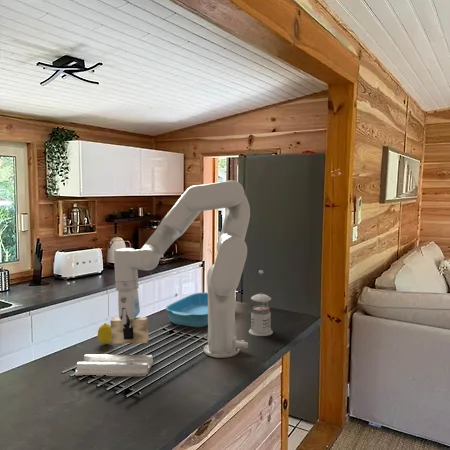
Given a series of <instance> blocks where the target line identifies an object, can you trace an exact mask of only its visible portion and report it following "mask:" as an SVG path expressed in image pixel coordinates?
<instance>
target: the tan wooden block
mask: <svg viewBox="0 0 450 450" xmlns="http://www.w3.org/2000/svg"><path fill="white" fill-rule="evenodd" d="M127 319H129V318H127ZM109 322H110V326H111V338H112V340H111V344H112V345H113V344H147V343H148V342H149V321H148V317H146V316H145V317H144V316H143V317H142V316H141V317H137V316H136V318H135V319H134V320H132V327H133V337H134V338H133V339H126V340H125V339H124V333H123V325H122V320H120V319H119V317H112V319H111V320H110V321H109ZM127 322H129V321H127Z"/></svg>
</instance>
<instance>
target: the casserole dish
mask: <svg viewBox="0 0 450 450" xmlns="http://www.w3.org/2000/svg"><path fill="white" fill-rule="evenodd" d="M165 311H166V314H167V316H168V319H169V321H170V322H171V323H173V324H175V325H178V326H183V327H184V326H187V327H191V328H202V327H204V328H205V327H206V326H207V327H208V292H196V293H192V294H189V295H188V296H185V297H182V298H181V299H178V300H176V301H174V302H172V303H170V304H169V305H166V306H165Z"/></svg>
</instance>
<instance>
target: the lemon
mask: <svg viewBox="0 0 450 450" xmlns="http://www.w3.org/2000/svg"><path fill="white" fill-rule="evenodd" d="M97 337H98V338H97V339H98V341H99V342H100V343H102V344H104V345H107V344H108V343H110V342H112V338H111V324H108V323H103V324H102V325H100V327H99V328H98V330H97Z"/></svg>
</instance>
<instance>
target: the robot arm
mask: <svg viewBox="0 0 450 450" xmlns="http://www.w3.org/2000/svg"><path fill="white" fill-rule="evenodd" d="M250 207H251V206H250V203H249V201H248V197H247V196H246V194H245V189H244V187H243V185H242V184H241V183H240V182H239V181H236V180H233V179H231V180H225V181H219V182H218V181H217V182H212V183H206V184H198V185H197V184H196V185H194V184H193V185H191V186H189V187H187V188H186V190H185V191H184V192H183V193H182V194H181V196H180V197H179V198H178V199H177V201H176V202H175V203H174V205H173V206H172V207H171V209H170V210H169V211H168V212H167V214H166V215H165V216H164V217H163V218H162V219H161V221H160V224H159V225H158V227H157V228H156V229H155V230H154V232H153V233H152V234H151V235H150V237H149V238H148V239H147V241H146V242H145V243H144V245H142V247H141V248H140V249H135V248H133V247H123V248H117V249H115V251H114V252H113V260H114V261H113V262H114V277H115V278H114V279H115V281H114V282H115V291H117V292H118V293H117V294H118V297H117V300H118V301H117V302H118V303H117V305H118V318H119V319H120V320H122V325H123V333H124V339H125V340H126V339H133V338H134V337H133V327H132V320H134V319H135V318H137V316H138V315H140V309H141V308H140V299H139V291H138V289H139V287H140V286H139V272H138V271H139V270H140V271H152V270H154V269H155V268H157V266H158V264H159V262H160V259H161V258H162V257H163V255H164V254H165V253H166V252H167V250H168V249H169V248H170V246H171V245H173V243H174V242H175V241H177V240H178V238H180V237H182V236H183V234H184V233H185V232H187V230H188V228H189V227H190V226H191V224H193V222H194V221H195V220H196V218H197V217H198V216H199V214H200V213H201V212H204V211H205V212H206V211H213V210H220V209H225V212H224V213H225V214H224V219H223V224H222V227H221V231H220V233H219V237H218V240H217V243H216V252H217V254H216V258H215V261H214V263H213V264H212V265H211V266H210V267H209V269H208V270H207V276H206V285H207V293H208V325H207V344H206V345H204V346H203V353H204V354H205V355H206V356H209V357H211V358H219V359H221V358H222V359H224V358H231V357H234V356H236V355H238V354H239V353H240V348H243V349H248V347H249V343H248V342H246V341H245V340H238V339H237V336H236V294H235V293H236V292H235V291H236V290H237V289H238V286H239V285H240V281H241V278H242V274H243V271H244V268H245V263H246V262H247V261H246V260H247V256H248V246H247V242H246V241H245V239H246V236H247V231H248V227H249V224H250V218H251V208H250ZM127 318H129V319H127ZM127 321H129V322H127Z"/></svg>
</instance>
